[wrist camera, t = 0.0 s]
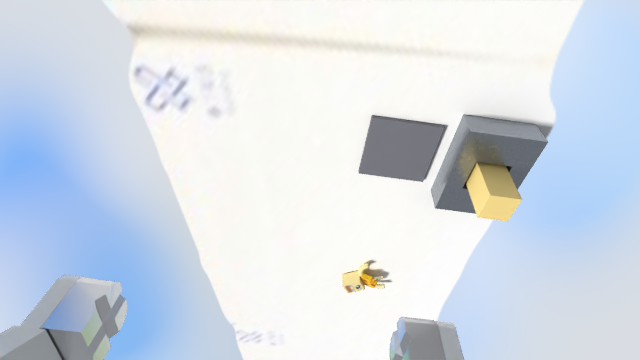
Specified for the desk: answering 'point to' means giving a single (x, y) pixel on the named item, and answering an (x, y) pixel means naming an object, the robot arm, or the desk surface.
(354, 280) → the character toy
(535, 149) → the grey block with hole
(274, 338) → the desk surface
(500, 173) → the square block
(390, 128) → the rubber mat
